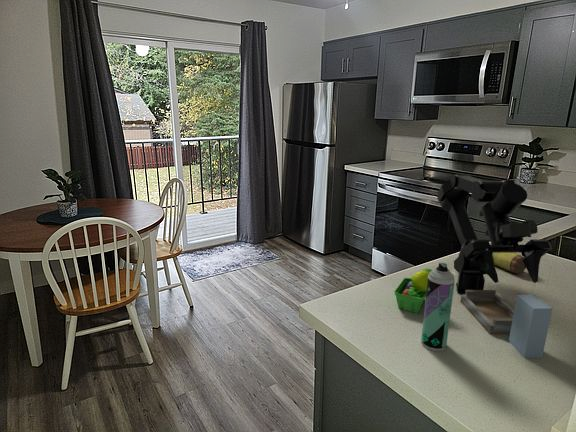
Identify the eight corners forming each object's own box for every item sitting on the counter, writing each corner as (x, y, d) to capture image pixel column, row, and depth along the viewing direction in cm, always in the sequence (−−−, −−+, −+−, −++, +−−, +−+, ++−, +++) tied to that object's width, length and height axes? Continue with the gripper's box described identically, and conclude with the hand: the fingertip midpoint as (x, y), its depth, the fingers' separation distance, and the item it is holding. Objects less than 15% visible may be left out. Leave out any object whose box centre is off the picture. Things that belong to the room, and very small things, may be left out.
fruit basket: (403, 292, 114) (406, 256, 111) (434, 300, 109) (438, 263, 106) (392, 309, 104) (395, 271, 101) (425, 318, 100) (430, 278, 97)
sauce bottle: (524, 253, 123) (474, 233, 141) (512, 268, 123) (463, 246, 141) (531, 264, 126) (482, 243, 144) (519, 279, 126) (471, 256, 144)
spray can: (426, 334, 93) (434, 257, 87) (449, 343, 89) (459, 263, 84) (417, 345, 88) (425, 264, 83) (441, 354, 85) (451, 271, 80)
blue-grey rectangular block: (508, 341, 90) (517, 295, 87) (525, 341, 90) (534, 294, 87) (524, 357, 84) (533, 308, 81) (542, 357, 84) (552, 308, 81)
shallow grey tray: (460, 301, 108) (461, 289, 107) (495, 301, 108) (497, 289, 107) (489, 333, 93) (491, 320, 92) (530, 333, 93) (533, 320, 92)
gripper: (475, 207, 91) (492, 270, 83) (554, 207, 91) (578, 269, 83) (457, 229, 100) (471, 286, 93) (528, 229, 101) (548, 286, 93)
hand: (516, 282), depth 90 cm, fingers open, 9 cm apart
